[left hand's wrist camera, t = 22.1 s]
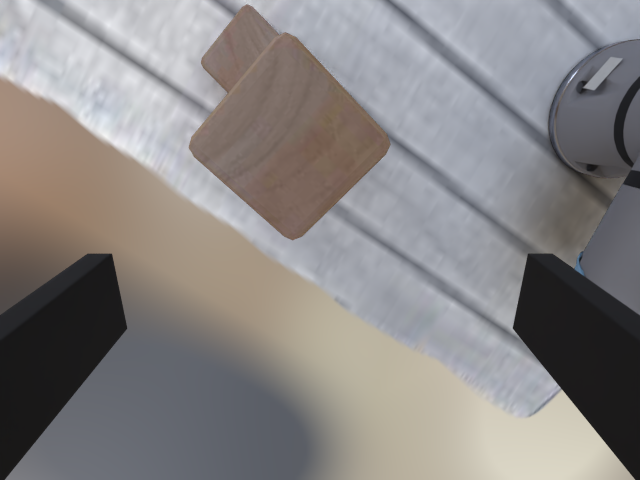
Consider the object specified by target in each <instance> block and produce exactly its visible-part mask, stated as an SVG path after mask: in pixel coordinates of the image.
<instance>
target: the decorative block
mask: <svg viewBox="0 0 640 480" xmlns="http://www.w3.org/2000/svg"><path fill="white" fill-rule="evenodd" d="M201 64H202V66H203V68H204V69H205V70H206V71H207V72H208V73H209V74H210V75H211V76H212V77H213V78H214V79H215V80H216V81H217V82H218V83H219V84H220V85H221V86H222V87H223V88H224V89H225V90H226V91H227V92H228V94H227V95H226V96H225V98H224V99H223V100H222V101H221V102H220V104H219V105H218V106H217V107H216V108H215V110H214V111H213V112H212V113H211V114H210V116H209V117H208V118H207V119H206V120H205V122H204V123H203V124H202V125H201V126H200V128H199V129H198V130H197V131H196V132H195V134H194V135H193V136H192V137H191V141H190V145H189V149H190V150H191V152H192V154H193V156H194V157H195V158H196V159H197V160H198V161H199V162H201V163H202V164H203V165H204V166H205V167H206V168H207V169H209V170H210V171H211V172H212V173H213V174H214V175H215V176H216V177H218V178H219V179H220V180H221V181H222V182H223V183H224V184H225V185H227V186H228V187H229V188H230V189H231V190H232V191H233V192H235V193H236V194H237V195H238V196H239V197H240V198H241V199H242V200H244V201H245V202H246V203H247V204H248V205H249V206H250V207H251V208H253V209H254V210H255V211H256V212H257V213H258V214H259V215H261V216H262V217H263V218H264V219H265V220H266V221H267V222H268V223H270V224H271V225H272V226H273V227H274V228H275V229H276V230H277V231H279V232H280V233H281V234H282V235H283V236H284V237H287V238H289V239H291V240H294V239H297V238H299V237H302V236H303V235H304V234H305V233H306V232H307V231H308V230H309V229H310V228H311V227H312V226H313V225H314V224H315V223H316V222H317V221H318V220H319V219H320V218H321V217H322V216H323V215H324V214H325V213H327V212H328V211H329V210H330V209H331V208H332V207H333V206H334V205H335V204H336V203H337V202H338V201H339V200H340V199H341V198H342V197H343V196H344V195H345V194H346V193H347V192H348V191H349V190H350V189H351V188H352V187H353V186H354V185H355V184H356V183H357V182H358V181H359V180H360V179H361V178H362V177H363V176H364V175H365V174H366V173H367V172H368V171H369V170H370V169H371V168H372V167H373V166H374V165H375V164H377V163H378V162H379V161H380V160H381V159H382V158H383V157H384V156H385V155H386V153H387V151H388V149H389V147H390V141H389V138H388V136H387V134H386V133H385V132H384V131H383V129H382V128H381V127H380V126H379V125H378V124H377V123H376V122H375V121H374V120H373V119H372V118H371V117H370V116H369V115H368V113H367V112H366V111H365V110H364V109H363V108H362V107H361V106H360V105H359V104H358V103H357V102H356V101H355V100H354V99H353V97H352V96H351V95H350V94H349V93H348V92H347V91H346V90H345V89H344V88H343V87H342V86H341V85H340V84H339V83H338V81H337V80H336V79H335V78H334V77H333V76H332V75H331V74H330V73H329V72H328V71H327V70H326V69H325V68H324V67H323V65H322V64H321V63H320V62H319V61H318V60H317V59H316V58H315V57H314V56H313V55H312V54H311V53H310V52H309V51H308V50H307V48H306V47H305V46H304V45H303V44H302V43H301V42H300V41H299V40H298V39H297V38H296V37H294V36H292V35H290V34H288V33H283V34H281V35H279V34H278V33H277V32H276V31H275V30H274V29H273V28H272V27H271V26H270V25H269V24H268V22H267V21H266V20H265V19H264V18H263V17H262V16H261V15H260V14H259V13H258V12H257V11H256V10H255V9H254V8H253V7H252V6H250V5H245V6H243V7H242V8H241V9H240V11H239V12H238V13H237V14H236V16H235V17H234V18H233V19H232V21H231V22H230V23H229V24H228V26H227V27H226V28H225V29H224V31H223V32H222V33H221V35H220V36H219V37H218V38H217V40H216V41H215V42H214V43H213V45H212V46H211V47H210V48H209V50H208V51H207V52H206V54H205V55H204V56H203V57H202V60H201Z"/></svg>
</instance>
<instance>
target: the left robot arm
mask: <svg viewBox="0 0 640 480" xmlns="http://www.w3.org/2000/svg"><path fill="white" fill-rule="evenodd" d="M549 132H550V138H551V142H552V145H553V148H554V150H555V152H556V153H557V155H558V156H559V158H560V159H561V160H562V161H563V162H564V163H565V164H566V165H567V166H569V167H570V168H572V169H574V170H576V171H578V172H580V173H584V174H587V175H590V176H594V177H602V178H617V177H625V176H627V178H626V179H625V181H624V183H623V184H622V186H621V187H620V189H619V191H618V193H617V194H616V196H615V198H614V199H613V201H612V203H611V205H610V206H609V208H608V210H607V212H606V213H605V215H604V217H603V219H602V220H601V222H600V224H599V226H598V227H597V229H596V231H595V233H594V234H593V236H592V238H591V240H590V241H589V243H588V245H587V247H586V248H585V250H584V251H583V252H581V253H580V254H579V256H578V258H577V263H576V267H575V269H573V268H572V267H571V266H569V265H568V264H566V263H565V262H563V261H562V260H561V259H559V258H558V257H556V256H555V255H553V254H528V257H527V261H526V266H525V271H524V276H523V281H522V286H521V291H520V296H519V300H518V305H517V310H516V315H515V320H514V325H513V329H514V331H515V332H516V333H517V334H518V335H519V337H520V338H521V339H522V340H523V342H524V343H525V344H526V345H527V347H528V348H529V349H530V350H531V352H532V353H533V354H534V355H535V356H536V358H537V359H538V360H539V361H540V363H541V364H542V365H543V366H544V368H545V369H546V370H547V371H548V372H549V374H550V375H551V376H552V377H553V379H554V380H555V381H556V382H557V384H558V385H559V386H560V387H561V389H562V390H563V391H564V392H565V393H566V395H567V396H568V397H569V398H570V400H571V401H572V402H573V403H574V405H575V406H576V407H577V408H578V409H579V411H580V412H581V413H582V414H583V416H584V417H585V418H586V419H587V421H588V422H589V423H590V424H591V426H592V427H593V428H594V429H595V430H596V432H597V433H598V434H599V435H600V437H601V438H602V439H603V440H604V442H605V443H606V444H607V445H608V447H609V448H610V449H611V450H612V451H613V453H614V454H615V455H616V456H617V458H618V459H619V460H620V461H621V463H622V464H623V465H624V466H625V467H626V469H627V470H628V471H629V472H630V474H631V475H632V476H633V477H634V479H635V480H640V39H637V40H629V41H623V42H618V43H614V44H611V45H608V46H605V47H603V48H601V49H599V50H597V51H595V52H593V53H592V54H590V55H589V56H587V57H586V58H585V59H583V60H582V61H581V62H580V63H579V64H578V65H577V66H576V67H575V68H574V69H573V70H572V71H571V72H570V73H569V74H568V76H567V77H566V78H565V80H564V81H563V83H562V84H561V86H560V88H559V90H558V92H557V94H556V96H555V98H554V101H553V104H552V108H551V112H550V119H549ZM631 186H632V187H631ZM634 187H635V188H634ZM638 188H639V189H638ZM126 329H127V325H126V320H125V315H124V310H123V305H122V301H121V296H120V291H119V286H118V281H117V276H116V271H115V266H114V261H113V257H112V254H87V255H85V256H84V257H82V258H81V259H79V260H78V261H77V262H75V263H74V264H72V265H71V266H70V267H68V268H67V269H65V270H64V271H62V272H61V273H59V274H58V275H57V276H55V277H54V278H52V279H51V280H50V281H48V282H47V283H45V284H44V285H42V286H41V287H40V288H38V289H37V290H35V291H34V292H33V293H31V294H30V295H28V296H27V297H25V298H24V299H22V300H21V301H20V302H18V303H17V304H15V305H14V306H13V307H11V308H10V309H8V310H7V311H5V312H4V313H3V314H1V315H0V480H5V479H6V477H7V476H8V475H9V474H10V472H11V471H12V470H13V469H14V467H15V466H16V465H17V464H18V463H19V461H20V460H21V459H22V458H23V456H24V455H25V454H26V453H27V451H28V450H29V449H30V448H31V447H32V445H33V444H34V443H35V442H36V440H37V439H38V438H39V437H40V435H41V434H42V433H43V432H44V430H45V429H46V428H47V427H48V426H49V424H50V423H51V422H52V421H53V419H54V418H55V417H56V416H57V414H58V413H59V412H60V411H61V409H62V408H63V407H64V406H65V405H66V403H67V402H68V401H69V400H70V398H71V397H72V396H73V395H74V393H75V392H76V391H77V390H78V388H79V387H80V386H81V385H82V384H83V382H84V381H85V380H86V379H87V377H88V376H89V375H90V374H91V372H92V371H93V370H94V369H95V367H96V366H97V365H98V364H99V363H100V361H101V360H102V359H103V358H104V356H105V355H106V354H107V353H108V352H109V350H110V349H111V348H112V347H113V345H114V344H115V343H116V342H117V340H118V339H119V338H120V337H121V335H122V334H123V333H124V332H125V331H126Z"/></svg>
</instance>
